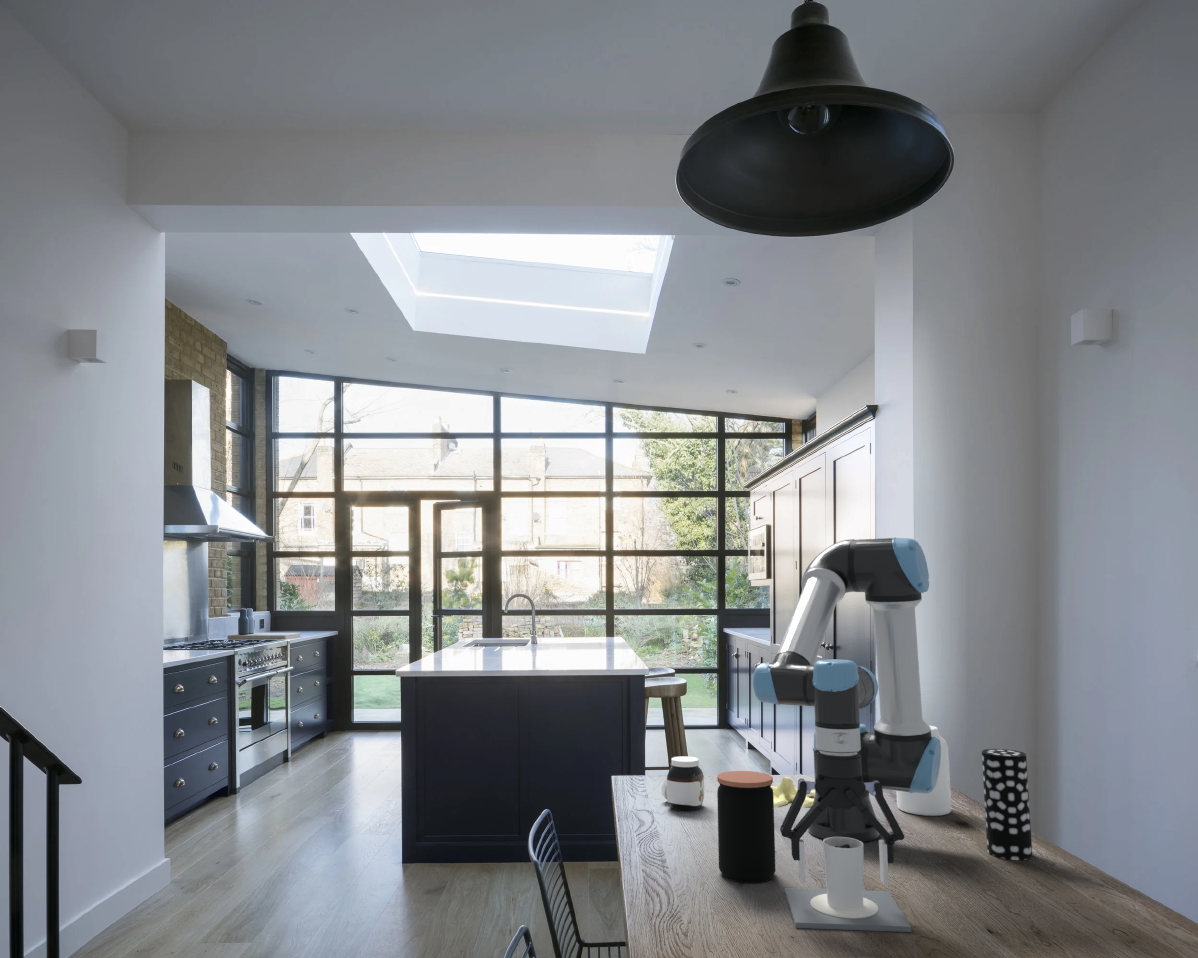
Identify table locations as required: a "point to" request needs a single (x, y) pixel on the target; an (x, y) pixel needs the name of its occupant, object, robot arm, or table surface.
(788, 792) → the cloth
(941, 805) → the white bottle
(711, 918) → the table surface
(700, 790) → the spread jar
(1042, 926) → the table surface
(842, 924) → the board
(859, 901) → the white cup
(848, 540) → the robot arm
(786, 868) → the table surface
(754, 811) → the coffee jar
